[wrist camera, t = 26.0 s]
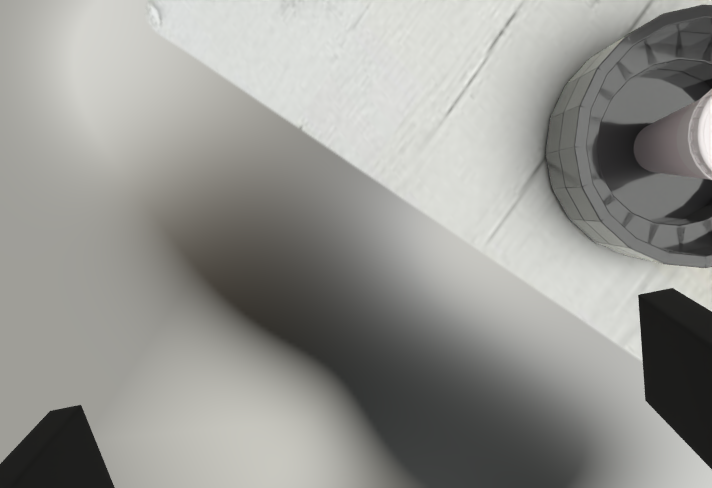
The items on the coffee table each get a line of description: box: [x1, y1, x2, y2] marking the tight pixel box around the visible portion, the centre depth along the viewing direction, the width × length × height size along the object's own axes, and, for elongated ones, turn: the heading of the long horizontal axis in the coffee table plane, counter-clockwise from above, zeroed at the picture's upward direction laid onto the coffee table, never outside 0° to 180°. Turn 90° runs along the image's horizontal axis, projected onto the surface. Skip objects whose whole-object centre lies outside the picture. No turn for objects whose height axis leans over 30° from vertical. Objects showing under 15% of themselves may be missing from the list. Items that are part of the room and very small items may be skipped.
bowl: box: [546, 5, 712, 268], centre depth 37 cm, size 17×17×6 cm
